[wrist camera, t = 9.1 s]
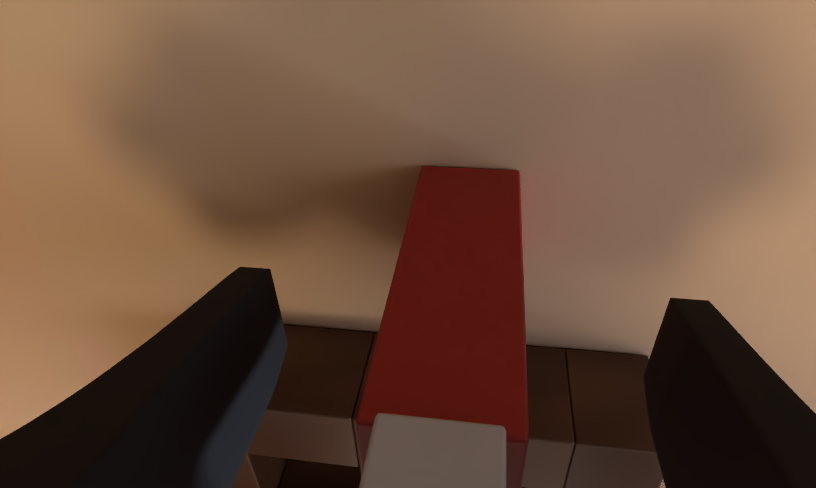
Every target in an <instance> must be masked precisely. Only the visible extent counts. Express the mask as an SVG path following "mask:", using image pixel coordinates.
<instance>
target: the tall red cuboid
mask: <svg viewBox="0 0 816 488" xmlns="http://www.w3.org/2000/svg"><path fill="white" fill-rule="evenodd" d="M356 426H357V433H358V440H359V446H360V453H361V460H362V466H363V472H362V476H361V481H360V485H359V488H521V484H522V478H523V472H524V466H525V461H526V455H527V449H528V443H529V420H528V391H527V362H526V333H525V304H524V275H523V246H522V217H521V188H520V172H519V171H518V170H499V169H475V168H452V167H429V166H424V167H422V168H421V171H420V175H419V179H418V183H417V187H416V191H415V194H414V198H413V202H412V206H411V210H410V214H409V217H408V221H407V225H406V229H405V233H404V237H403V241H402V244H401V248H400V252H399V256H398V260H397V264H396V267H395V271H394V275H393V279H392V283H391V287H390V291H389V294H388V298H387V302H386V306H385V310H384V314H383V317H382V321H381V325H380V329H379V333H378V337H377V341H376V344H375V348H374V352H373V356H372V360H371V364H370V367H369V371H368V375H367V379H366V383H365V387H364V391H363V394H362V398H361V402H360V406H359V410H358V414H357V417H356Z"/></svg>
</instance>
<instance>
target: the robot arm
mask: <svg viewBox="0 0 816 488" xmlns="http://www.w3.org/2000/svg"><path fill="white" fill-rule="evenodd" d="M287 346H288V342H287V338H286V333H285V329H284V325H283V321H282V317H281V312H280V308H279V304H278V300H277V296H276V291H275V287H274V283H273V279H272V275H271V270H270V269H263V268H249V267H239V268H238V269H237V270H235V271H234V272H233V273H231V274H230V275H229V276H227V277H226V278H225V279H224V280H222V281H221V282H220V283H219V284H217V285H216V286H215V287H214V288H213V289H211V290H210V291H209V292H208V293H206V294H205V295H204V296H203V297H202V298H200V299H199V300H198V301H197V302H196V303H194V304H193V305H192V306H191V307H189V308H188V309H187V310H186V311H184V312H183V313H182V314H181V315H179V316H178V317H177V318H176V319H174V320H173V321H172V322H171V323H169V324H168V325H167V326H166V327H164V328H163V329H162V330H161V331H159V332H158V333H157V334H156V335H154V336H153V337H152V338H151V339H149V340H148V341H147V342H145V343H144V344H143V345H141V346H140V347H139V348H137V349H136V350H135V351H133V352H132V353H130V354H129V355H128V356H126V357H125V358H124V359H122V360H121V361H120V362H118V363H117V364H116V365H114V366H113V367H111V368H110V369H109V370H107V371H106V372H105V373H103V374H102V375H101V376H99V377H98V378H96V379H95V380H94V381H92V382H91V383H89V384H88V385H86V386H85V387H83V388H82V389H81V390H79V391H78V392H76V393H75V394H73V395H72V396H70V397H68V398H67V399H65V400H64V401H62V402H61V403H59V404H58V405H56V406H54V407H53V408H51V409H50V410H48V411H47V412H45V413H43V414H42V415H40V416H39V417H37V418H35V419H34V420H32V421H31V422H29V423H27V424H26V425H24V426H22V427H21V428H19V429H17V430H16V431H14V432H12V433H10V434H9V435H7V436H5V437H3V438H2V439H0V488H231V487H232V485H233V482H234V480H235V478H236V476H237V474H238V471H239V469H240V467H241V465H242V462H243V460H244V458H245V456H246V453H247V451H248V449H249V447H250V445H251V442H252V440H253V438H254V436H255V433H256V431H257V429H258V427H259V424H260V422H261V420H262V418H263V415H264V413H265V411H266V409H267V406H268V404H269V402H270V399H271V397H272V395H273V392H274V389H275V386H276V383H277V380H278V377H279V373H280V370H281V367H282V363H283V360H284V356H285V353H286V349H287ZM643 379H644V387H645V395H646V402H647V410H648V416H649V423H650V429H651V434H652V438H653V442H654V446H655V449H656V453H657V457H658V460H659V464H660V468H661V472H662V475H663V479H664V483H665V486H666V488H816V414H815V413H814V412H813V411H812V410H811V409H810V408H809V407H808V406H807V405H806V404H805V403H804V402H803V401H802V400H801V399H800V398H799V397H798V395H797V394H796V393H795V392H794V391H793V390H792V389H791V388H790V387H789V386H788V385H787V384H786V383H785V382H784V381H783V380H782V379H781V378H780V377H779V376H778V375H777V374H776V373H775V372H774V371H773V370H772V368H771V367H770V366H769V365H768V364H767V363H766V362H765V361H764V360H763V359H762V358H761V357H760V356H759V355H758V353H757V352H756V351H755V350H754V349H753V348H752V347H751V346H750V345H749V344H748V343H747V342H746V341H745V339H744V338H743V337H742V336H741V335H740V334H739V333H738V332H737V331H736V330H735V329H734V327H733V326H732V325H731V324H730V323H729V322H728V321H727V320H726V319H725V318H724V317H723V316H722V314H721V313H720V312H719V311H718V310H717V309H716V308H715V307H714V306H713V305H712V304H711V303H710V302H709V301H706V300H692V299H678V298H670V301H669V304H668V306H667V309H666V312H665V315H664V318H663V321H662V324H661V327H660V330H659V332H658V335H657V338H656V341H655V344H654V347H653V350H652V353H651V355H650V358H649V361H648V364H647V367H646V370H645V373H644V376H643Z"/></svg>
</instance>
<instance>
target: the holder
mask: <svg viewBox="0 0 816 488" xmlns="http://www.w3.org/2000/svg"><path fill="white" fill-rule="evenodd" d="M284 329H285V333H286V338H287V342H288V346H287V349H286V353H285V356H284V360H283V363H282V367H281V370H280V373H279V377H278V380H277V383H276V386H275V389H274V392H273V395H272V397H271V399H270V402H269V404H268V406H267V409H266V411H265V413H264V415H263V418H262V420H261V422H260V424H259V427H258V429H257V431H256V433H255V436H254V438H253V440H252V442H251V445H250V447H249V449H248V451H247V453H246V456H245V458H244V460H243V462H242V465H241V467H240V469H239V471H238V474H237V476H236V478H235V480H234V482H233V485H232V487H231V488H359V485H360V481H361V476H362V472H363V466H362V460H361V453H360V446H359V440H358V433H357V426H356V417H357V414H358V410H359V406H360V402H361V398H362V394H363V391H364V387H365V383H366V379H367V375H368V371H369V367H370V364H371V360H372V356H373V352H374V348H375V344H376V341H377V337H378V333H376V334H375V336H374V333H371V332H360V331H348V330H337V329H325V328H314V327H302V326H290V325H284ZM648 361H649V359H648V356H641V355H630V354H618V353H606V352H595V351H583V350H572V349H566V350H564V349H557V348H545V347H534V346H526V362H527V391H528V420H529V443H528V449H527V455H526V461H525V466H524V472H523V478H522V484H521V488H659V486H660V484H661V482H662V480H663V475H662V472H661V468H660V464H659V460H658V457H657V453H656V449H655V446H654V442H653V438H652V434H651V429H650V423H649V416H648V410H647V402H646V395H645V387H644V379H643V376H644V373H645V370H646V367H647V364H648Z"/></svg>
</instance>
